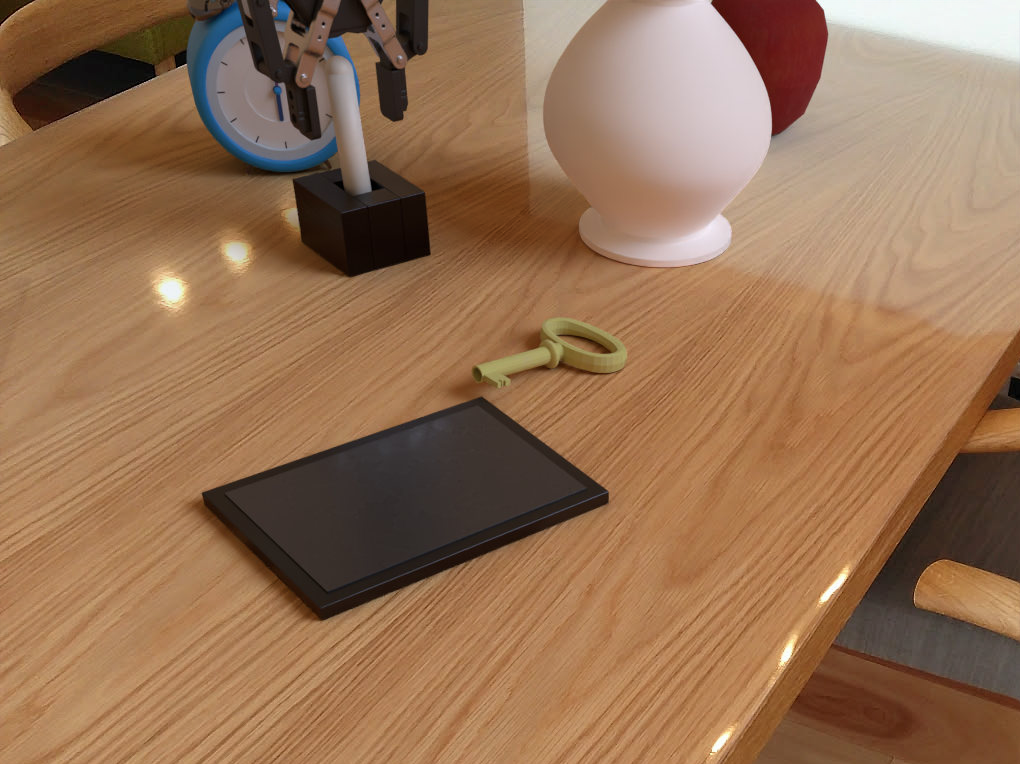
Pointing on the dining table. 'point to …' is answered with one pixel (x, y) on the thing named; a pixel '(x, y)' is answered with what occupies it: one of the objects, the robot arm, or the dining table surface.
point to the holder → (362, 220)
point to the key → (556, 353)
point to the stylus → (347, 125)
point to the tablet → (402, 504)
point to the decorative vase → (657, 128)
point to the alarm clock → (254, 92)
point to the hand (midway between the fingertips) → (351, 126)
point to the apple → (781, 49)
